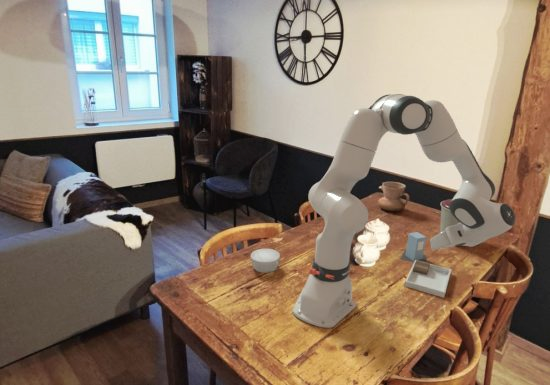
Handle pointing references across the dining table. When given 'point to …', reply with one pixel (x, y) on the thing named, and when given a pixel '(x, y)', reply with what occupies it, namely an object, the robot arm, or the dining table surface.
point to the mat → (410, 259)
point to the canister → (446, 216)
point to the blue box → (415, 246)
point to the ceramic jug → (392, 196)
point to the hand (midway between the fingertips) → (442, 246)
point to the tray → (429, 280)
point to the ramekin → (265, 260)
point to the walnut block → (421, 267)
